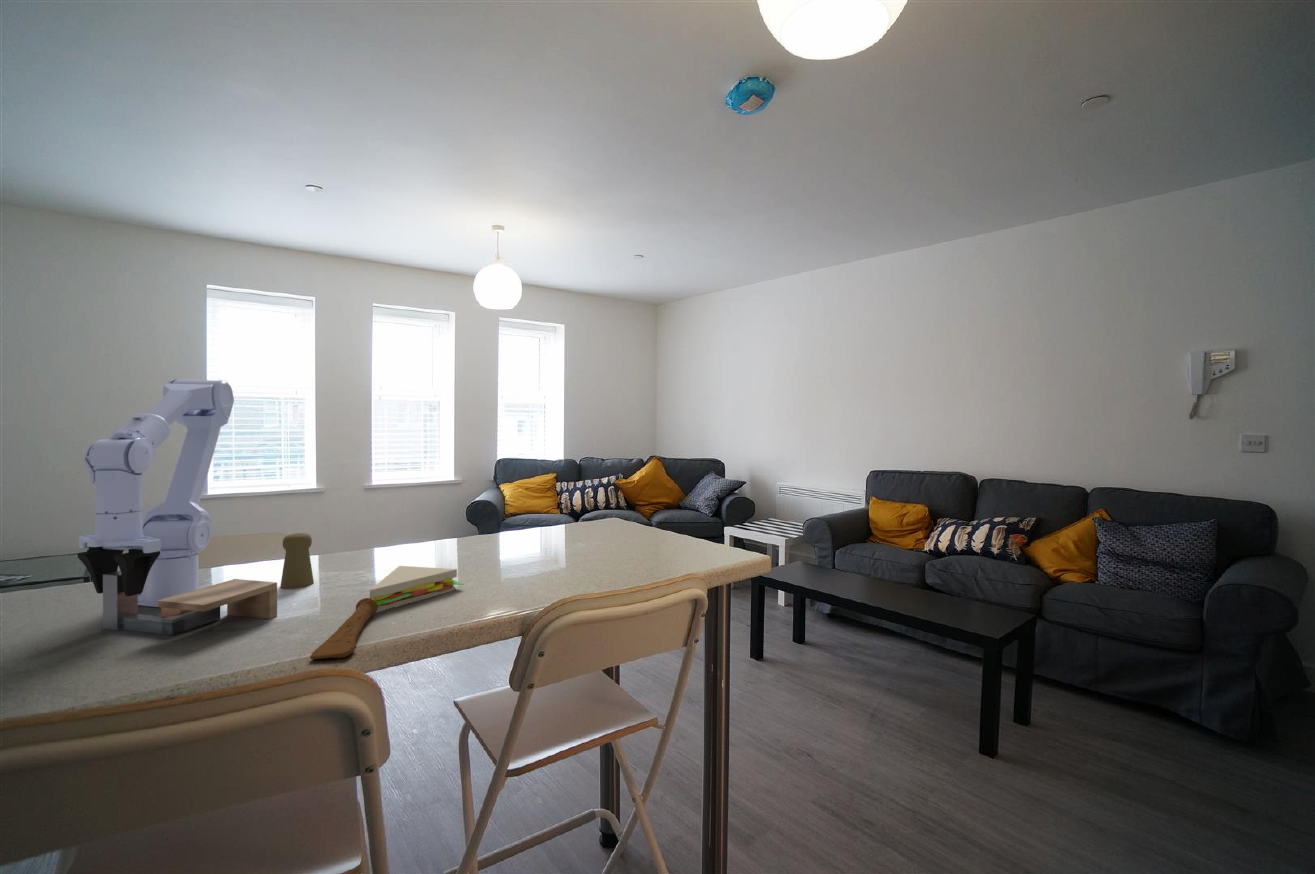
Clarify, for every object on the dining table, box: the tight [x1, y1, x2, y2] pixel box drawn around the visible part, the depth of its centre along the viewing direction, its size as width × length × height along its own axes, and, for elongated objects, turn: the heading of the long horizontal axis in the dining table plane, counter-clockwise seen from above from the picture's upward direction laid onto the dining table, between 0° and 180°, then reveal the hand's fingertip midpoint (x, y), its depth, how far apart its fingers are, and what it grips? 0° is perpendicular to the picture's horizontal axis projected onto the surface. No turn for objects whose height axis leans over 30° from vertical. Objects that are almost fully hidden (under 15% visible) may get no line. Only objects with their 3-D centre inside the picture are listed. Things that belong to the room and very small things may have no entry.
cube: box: [160, 607, 189, 617], centre depth 95 cm, size 4×4×4 cm
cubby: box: [156, 578, 278, 620], centre depth 94 cm, size 9×13×6 cm
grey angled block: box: [102, 570, 221, 636], centre depth 95 cm, size 14×8×9 cm, turn 78°
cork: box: [280, 532, 315, 590], centre depth 118 cm, size 6×6×11 cm
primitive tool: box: [309, 597, 378, 660], centre depth 91 cm, size 19×6×4 cm, turn 10°
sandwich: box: [369, 565, 465, 613], centre depth 110 cm, size 15×20×5 cm
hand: (119, 593), depth 93 cm, fingers open, 5 cm apart
